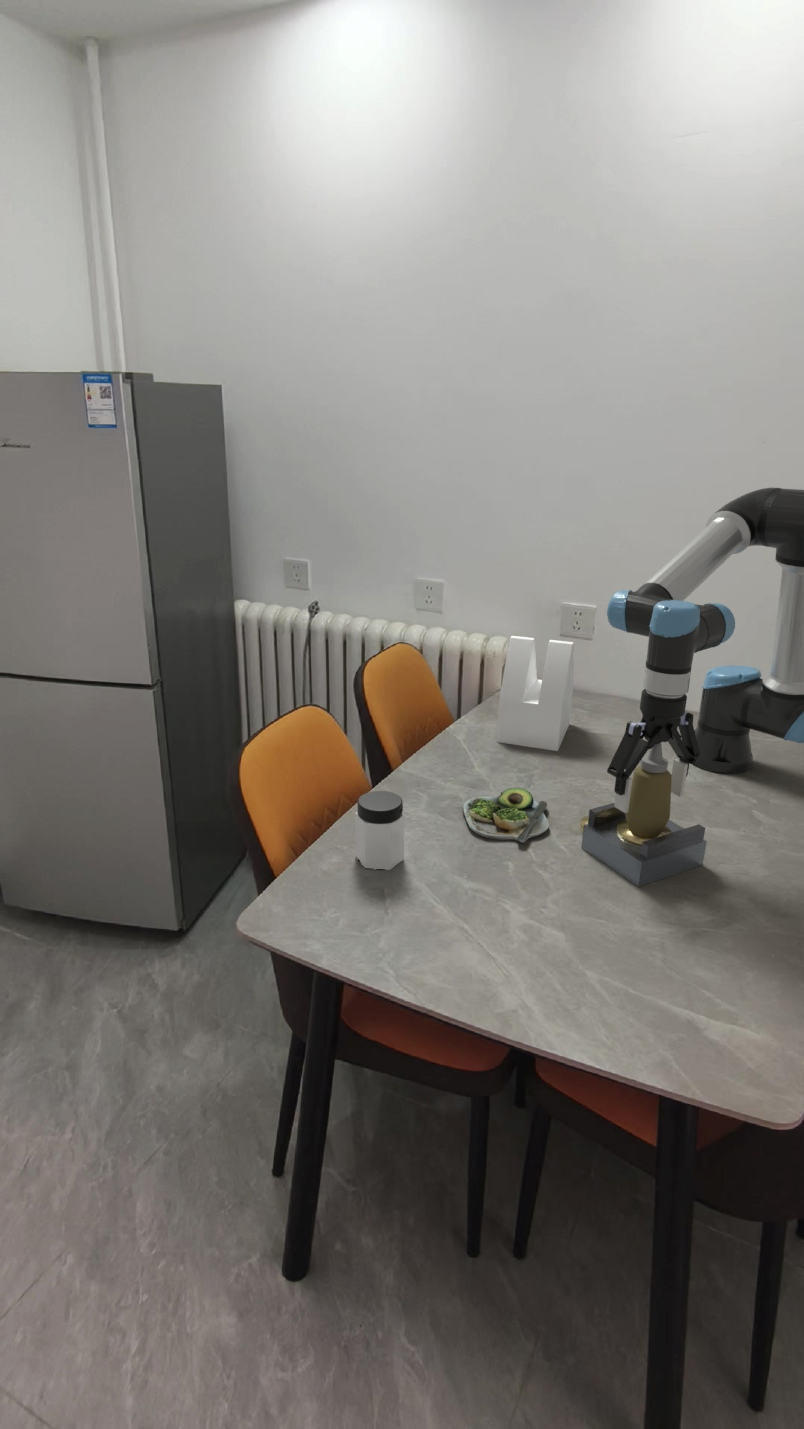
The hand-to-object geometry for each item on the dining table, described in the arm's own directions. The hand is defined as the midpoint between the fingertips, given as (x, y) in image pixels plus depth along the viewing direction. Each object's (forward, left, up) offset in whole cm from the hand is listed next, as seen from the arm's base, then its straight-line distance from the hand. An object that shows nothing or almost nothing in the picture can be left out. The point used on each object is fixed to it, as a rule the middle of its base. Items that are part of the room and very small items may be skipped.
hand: (649, 801), depth 145 cm
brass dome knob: (+1, -11, -12) cm, 16 cm away
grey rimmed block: (0, 0, -11) cm, 11 cm away
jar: (+44, -21, -12) cm, 50 cm away
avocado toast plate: (+14, -23, -12) cm, 30 cm away
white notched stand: (-20, -58, -12) cm, 63 cm away
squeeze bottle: (0, 0, -6) cm, 6 cm away
